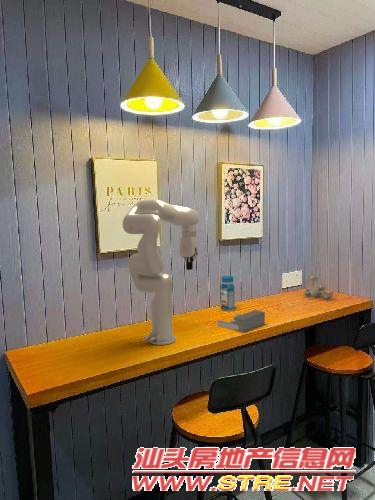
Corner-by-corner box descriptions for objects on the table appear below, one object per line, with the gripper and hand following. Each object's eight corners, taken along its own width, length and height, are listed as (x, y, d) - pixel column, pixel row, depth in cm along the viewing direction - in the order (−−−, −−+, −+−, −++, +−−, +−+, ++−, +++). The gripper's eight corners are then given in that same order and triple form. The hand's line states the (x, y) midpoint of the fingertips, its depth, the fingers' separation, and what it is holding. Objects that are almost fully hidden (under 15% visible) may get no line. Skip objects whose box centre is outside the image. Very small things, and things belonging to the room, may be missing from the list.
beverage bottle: (234, 311, 218) (233, 277, 216) (220, 311, 220) (219, 277, 218) (235, 307, 226) (235, 275, 224) (221, 307, 228) (221, 275, 226)
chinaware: (337, 303, 234) (340, 278, 233) (311, 302, 234) (314, 276, 233) (321, 294, 262) (323, 271, 261) (297, 292, 262) (300, 269, 260)
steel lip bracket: (243, 332, 179) (243, 319, 178) (216, 325, 192) (215, 313, 191) (264, 324, 191) (264, 312, 191) (237, 318, 204) (237, 306, 203)
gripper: (174, 235, 199) (175, 269, 201) (193, 235, 188) (194, 271, 189) (184, 234, 204) (185, 267, 206) (203, 234, 193) (204, 270, 195)
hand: (189, 269), depth 198 cm, fingers closed
